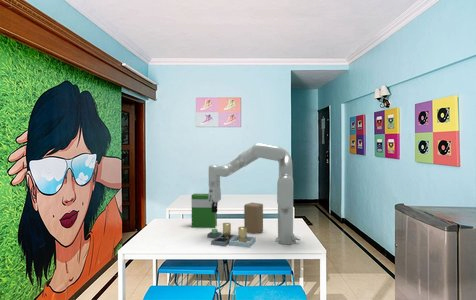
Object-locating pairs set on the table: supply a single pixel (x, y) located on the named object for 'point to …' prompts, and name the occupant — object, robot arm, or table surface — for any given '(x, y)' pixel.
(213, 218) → the hardback book
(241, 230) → the billet
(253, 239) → the tray
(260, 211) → the wooden block
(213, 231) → the button
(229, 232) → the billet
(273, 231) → the table surface
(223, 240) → the metal compartment tray
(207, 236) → the grey button housing
